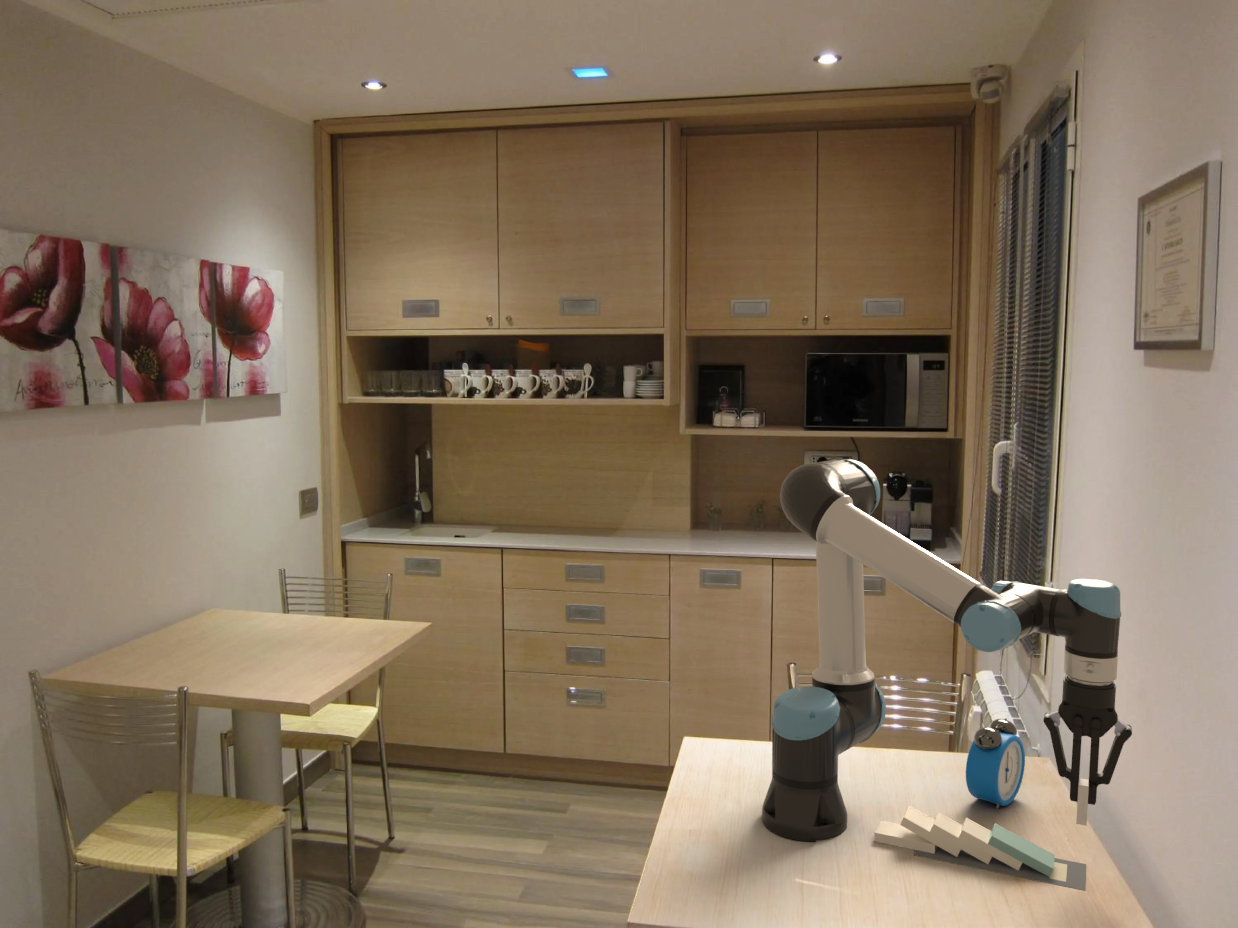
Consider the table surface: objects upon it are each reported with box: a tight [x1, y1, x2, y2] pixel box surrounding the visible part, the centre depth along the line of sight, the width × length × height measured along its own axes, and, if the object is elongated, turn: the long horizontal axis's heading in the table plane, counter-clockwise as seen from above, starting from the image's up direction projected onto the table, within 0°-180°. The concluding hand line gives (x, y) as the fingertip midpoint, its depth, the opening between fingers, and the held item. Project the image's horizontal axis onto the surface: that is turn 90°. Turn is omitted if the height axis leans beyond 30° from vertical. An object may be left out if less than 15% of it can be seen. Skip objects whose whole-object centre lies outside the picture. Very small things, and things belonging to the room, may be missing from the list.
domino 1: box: [874, 820, 937, 854], centre depth 168 cm, size 2×5×10 cm
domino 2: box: [899, 805, 961, 857], centre depth 166 cm, size 2×5×10 cm
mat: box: [913, 846, 1087, 891], centre depth 162 cm, size 26×9×1 cm, turn 64°
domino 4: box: [959, 817, 1022, 870], centre depth 162 cm, size 2×5×10 cm
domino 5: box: [988, 823, 1056, 877], centre depth 160 cm, size 2×5×10 cm
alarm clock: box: [965, 718, 1026, 810], centre depth 184 cm, size 13×6×15 cm, turn 135°
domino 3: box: [930, 811, 992, 864], centre depth 164 cm, size 2×5×10 cm
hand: (1081, 820), depth 156 cm, fingers closed
